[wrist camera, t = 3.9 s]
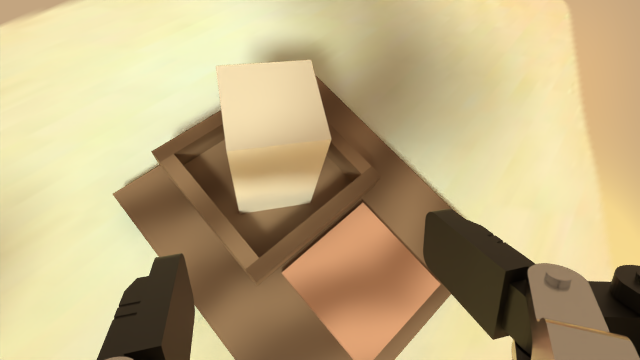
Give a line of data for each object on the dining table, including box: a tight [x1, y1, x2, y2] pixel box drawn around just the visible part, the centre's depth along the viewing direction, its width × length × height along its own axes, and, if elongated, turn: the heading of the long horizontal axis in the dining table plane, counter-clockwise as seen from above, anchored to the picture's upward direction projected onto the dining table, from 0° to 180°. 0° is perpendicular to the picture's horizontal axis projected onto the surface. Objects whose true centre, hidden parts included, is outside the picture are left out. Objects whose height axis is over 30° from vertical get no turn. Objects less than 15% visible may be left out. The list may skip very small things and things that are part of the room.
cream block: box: [216, 60, 331, 214], centre depth 22 cm, size 5×5×9 cm
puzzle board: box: [113, 75, 451, 360], centre depth 24 cm, size 20×18×3 cm
